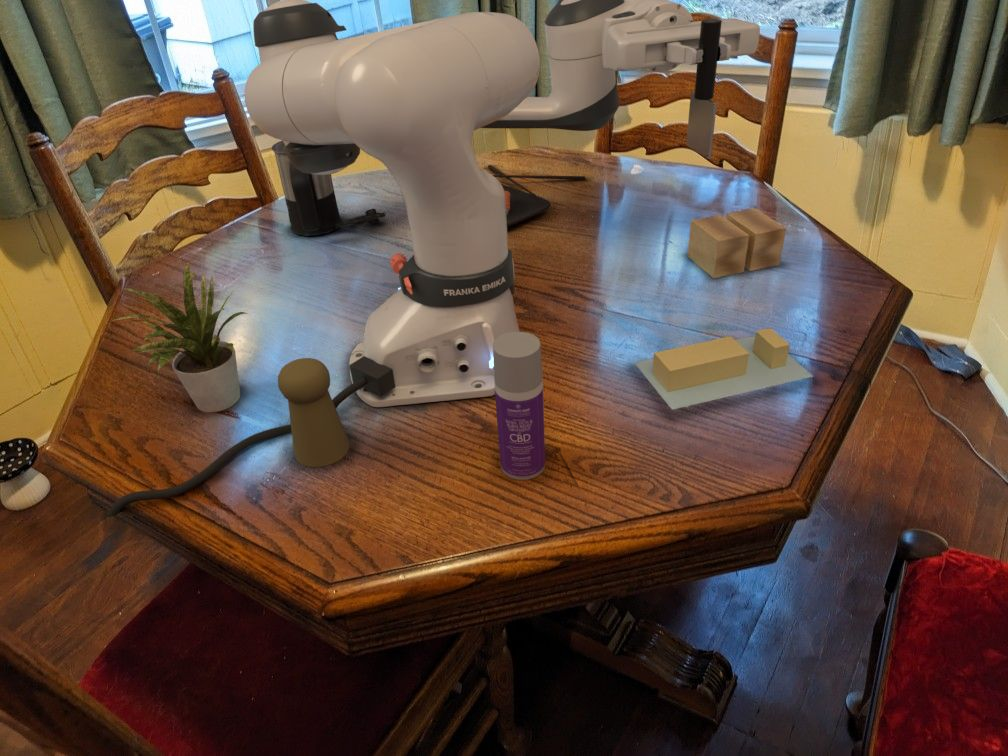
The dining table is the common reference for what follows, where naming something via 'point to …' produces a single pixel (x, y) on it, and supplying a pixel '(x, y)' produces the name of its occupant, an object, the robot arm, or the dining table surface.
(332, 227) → the milk frother
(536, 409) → the container
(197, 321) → the house plant
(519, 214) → the sushi plate
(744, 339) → the butter dish
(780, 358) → the butter pat
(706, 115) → the knife
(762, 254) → the knife block
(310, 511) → the dining table surface
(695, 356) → the butter stick
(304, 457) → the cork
